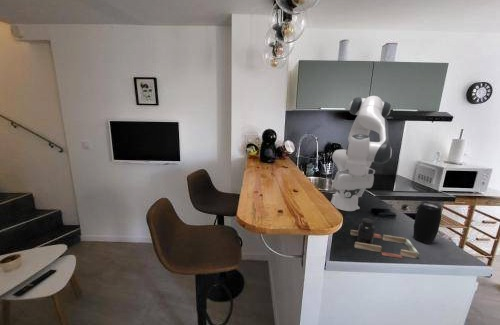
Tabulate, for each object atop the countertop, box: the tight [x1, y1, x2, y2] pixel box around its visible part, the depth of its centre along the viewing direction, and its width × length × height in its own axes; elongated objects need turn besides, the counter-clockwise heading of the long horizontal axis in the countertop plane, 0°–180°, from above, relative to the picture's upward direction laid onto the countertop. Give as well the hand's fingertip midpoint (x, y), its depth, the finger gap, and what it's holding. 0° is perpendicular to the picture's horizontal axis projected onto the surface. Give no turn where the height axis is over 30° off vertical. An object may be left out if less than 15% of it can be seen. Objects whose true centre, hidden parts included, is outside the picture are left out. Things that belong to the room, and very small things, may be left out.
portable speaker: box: [413, 200, 442, 245], centre depth 105 cm, size 9×9×20 cm
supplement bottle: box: [356, 217, 376, 245], centre depth 102 cm, size 7×7×12 cm
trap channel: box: [350, 229, 420, 260], centre depth 102 cm, size 18×26×2 cm
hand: (351, 197), depth 101 cm, fingers open, 8 cm apart
